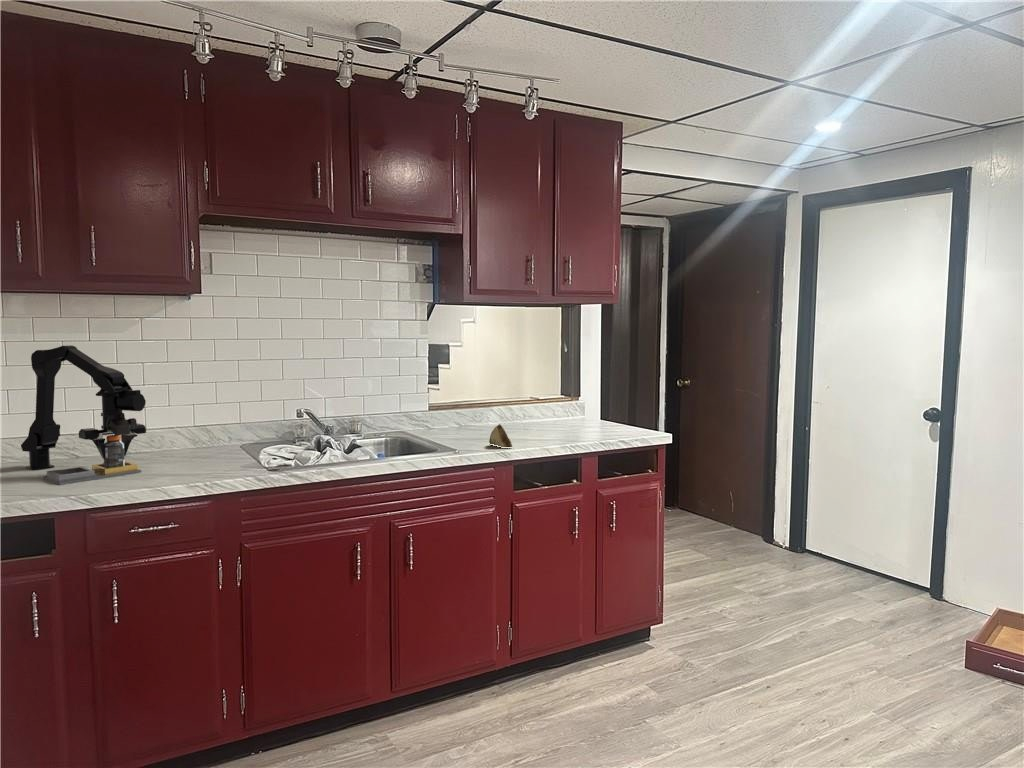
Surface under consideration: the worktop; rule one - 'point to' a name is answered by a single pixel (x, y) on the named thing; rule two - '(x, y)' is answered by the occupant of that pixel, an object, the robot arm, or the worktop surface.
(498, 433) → the rock
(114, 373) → the robot arm
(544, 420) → the worktop surface
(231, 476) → the worktop surface
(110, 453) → the pill bottle
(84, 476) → the faceplate
